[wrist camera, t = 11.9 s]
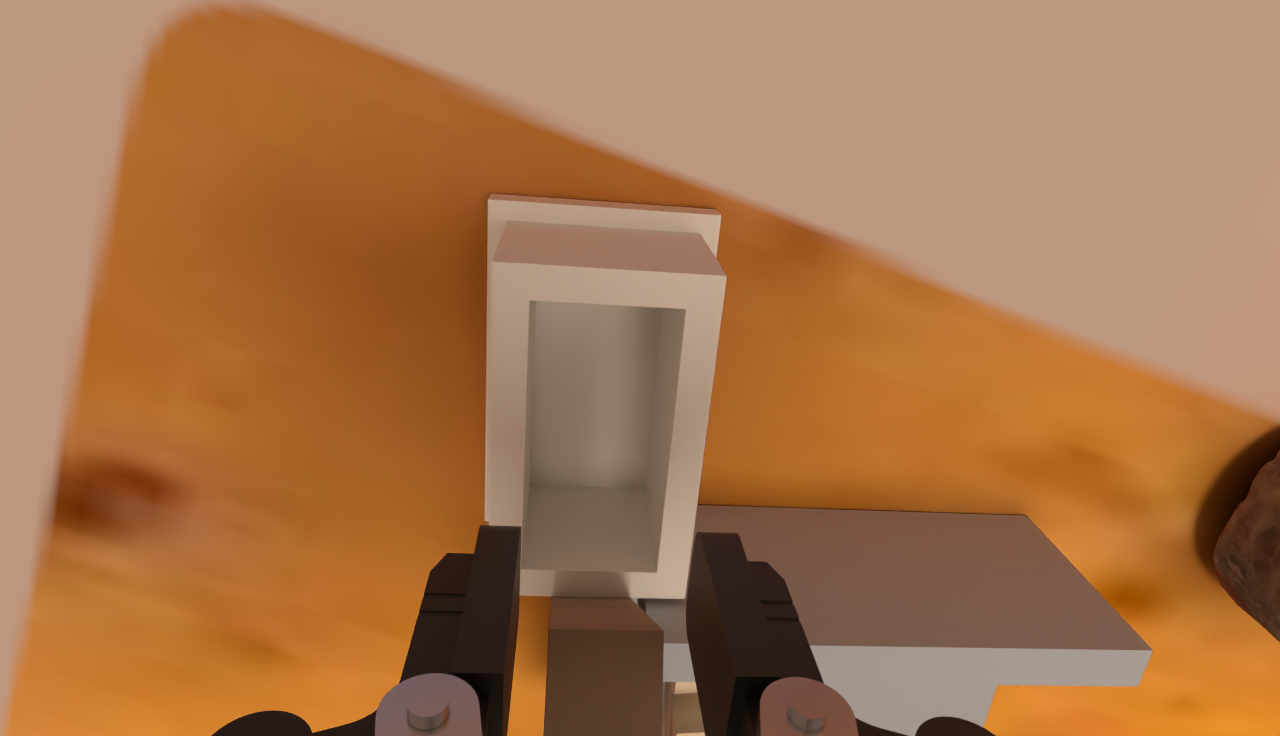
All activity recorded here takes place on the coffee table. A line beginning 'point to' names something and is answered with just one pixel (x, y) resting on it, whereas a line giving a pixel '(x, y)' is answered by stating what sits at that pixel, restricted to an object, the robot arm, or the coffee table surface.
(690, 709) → the offcut short
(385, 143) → the coffee table surface
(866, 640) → the rack
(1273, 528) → the brown log
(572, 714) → the slat
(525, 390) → the holder
